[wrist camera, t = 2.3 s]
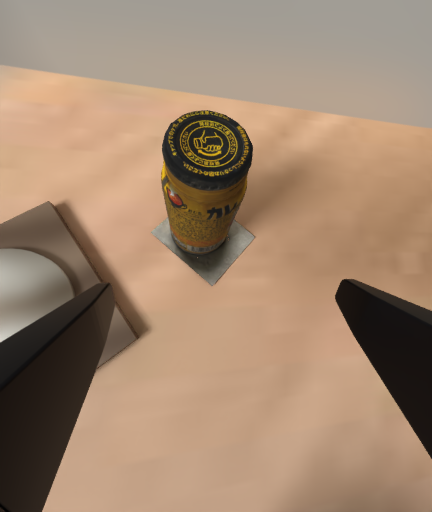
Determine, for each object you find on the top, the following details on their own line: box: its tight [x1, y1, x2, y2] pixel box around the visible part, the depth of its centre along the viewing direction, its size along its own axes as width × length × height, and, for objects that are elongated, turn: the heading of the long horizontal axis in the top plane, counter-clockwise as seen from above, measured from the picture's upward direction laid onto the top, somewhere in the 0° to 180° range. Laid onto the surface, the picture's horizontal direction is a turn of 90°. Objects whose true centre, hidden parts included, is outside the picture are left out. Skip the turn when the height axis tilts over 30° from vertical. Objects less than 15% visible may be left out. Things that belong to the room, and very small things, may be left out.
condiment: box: [151, 110, 255, 286], centre depth 18 cm, size 7×8×12 cm
